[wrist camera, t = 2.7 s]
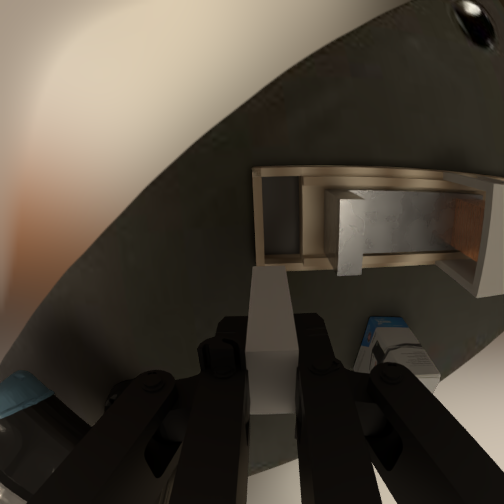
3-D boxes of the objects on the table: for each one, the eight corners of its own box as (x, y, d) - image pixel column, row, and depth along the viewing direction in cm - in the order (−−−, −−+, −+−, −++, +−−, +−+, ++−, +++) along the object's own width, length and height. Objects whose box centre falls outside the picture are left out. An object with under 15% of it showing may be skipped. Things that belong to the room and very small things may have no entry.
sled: (323, 251, 30) (337, 275, 24) (324, 188, 28) (340, 199, 22) (472, 246, 29) (502, 264, 23) (477, 193, 27) (511, 204, 21)
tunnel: (434, 264, 30) (476, 298, 22) (443, 172, 27) (493, 183, 19) (474, 261, 30) (517, 291, 22) (483, 176, 27) (534, 188, 18)
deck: (257, 261, 34) (256, 276, 30) (253, 166, 31) (251, 169, 27) (502, 251, 32) (519, 261, 28) (510, 178, 29) (529, 183, 25)
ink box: (369, 314, 36) (403, 376, 24) (403, 316, 36) (444, 374, 24) (350, 369, 38) (372, 434, 27) (383, 369, 38) (410, 431, 27)
